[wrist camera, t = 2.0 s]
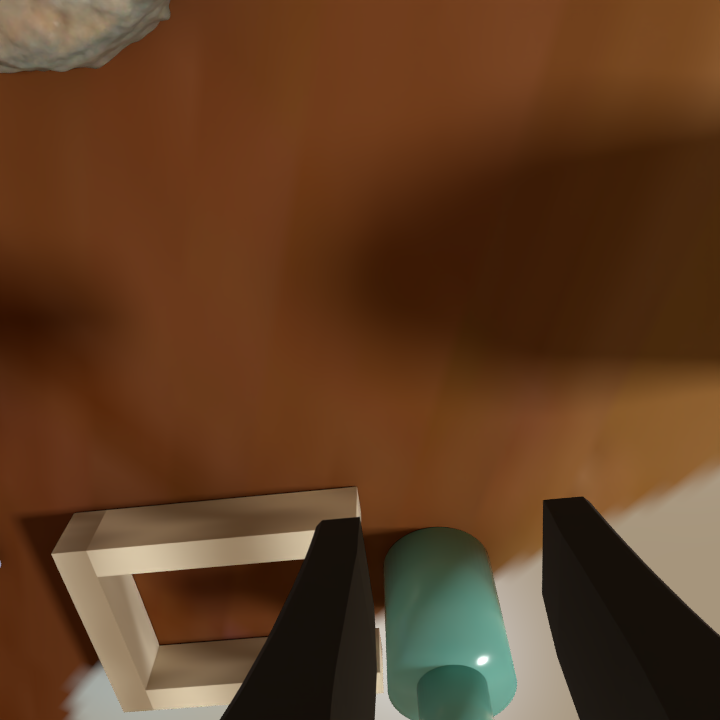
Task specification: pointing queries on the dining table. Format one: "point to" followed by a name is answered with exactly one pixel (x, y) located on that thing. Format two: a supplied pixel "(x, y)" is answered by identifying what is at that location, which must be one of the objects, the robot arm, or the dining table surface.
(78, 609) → the cradle
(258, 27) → the dining table surface
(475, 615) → the bottle
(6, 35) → the grey rock slab
